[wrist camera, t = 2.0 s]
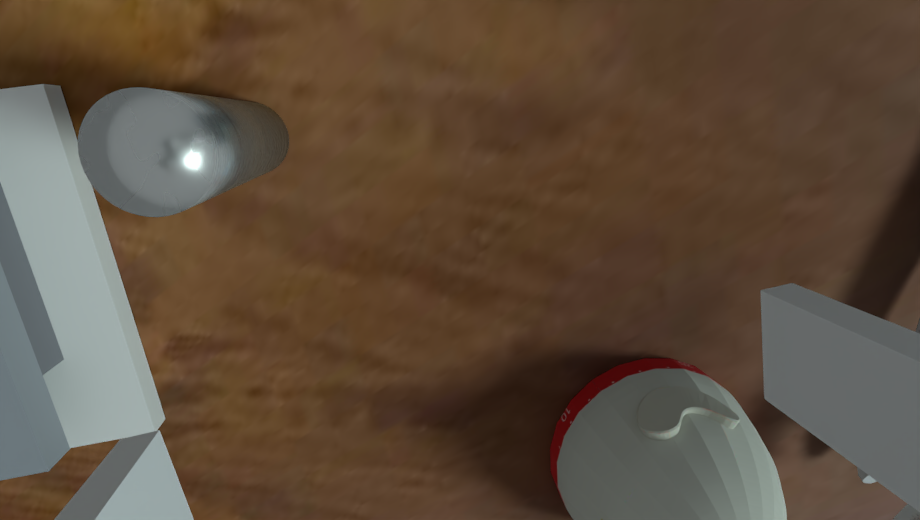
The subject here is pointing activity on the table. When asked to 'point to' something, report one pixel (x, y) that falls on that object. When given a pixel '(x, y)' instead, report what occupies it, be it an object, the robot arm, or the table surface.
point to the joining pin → (176, 148)
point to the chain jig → (60, 299)
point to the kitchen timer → (662, 449)
